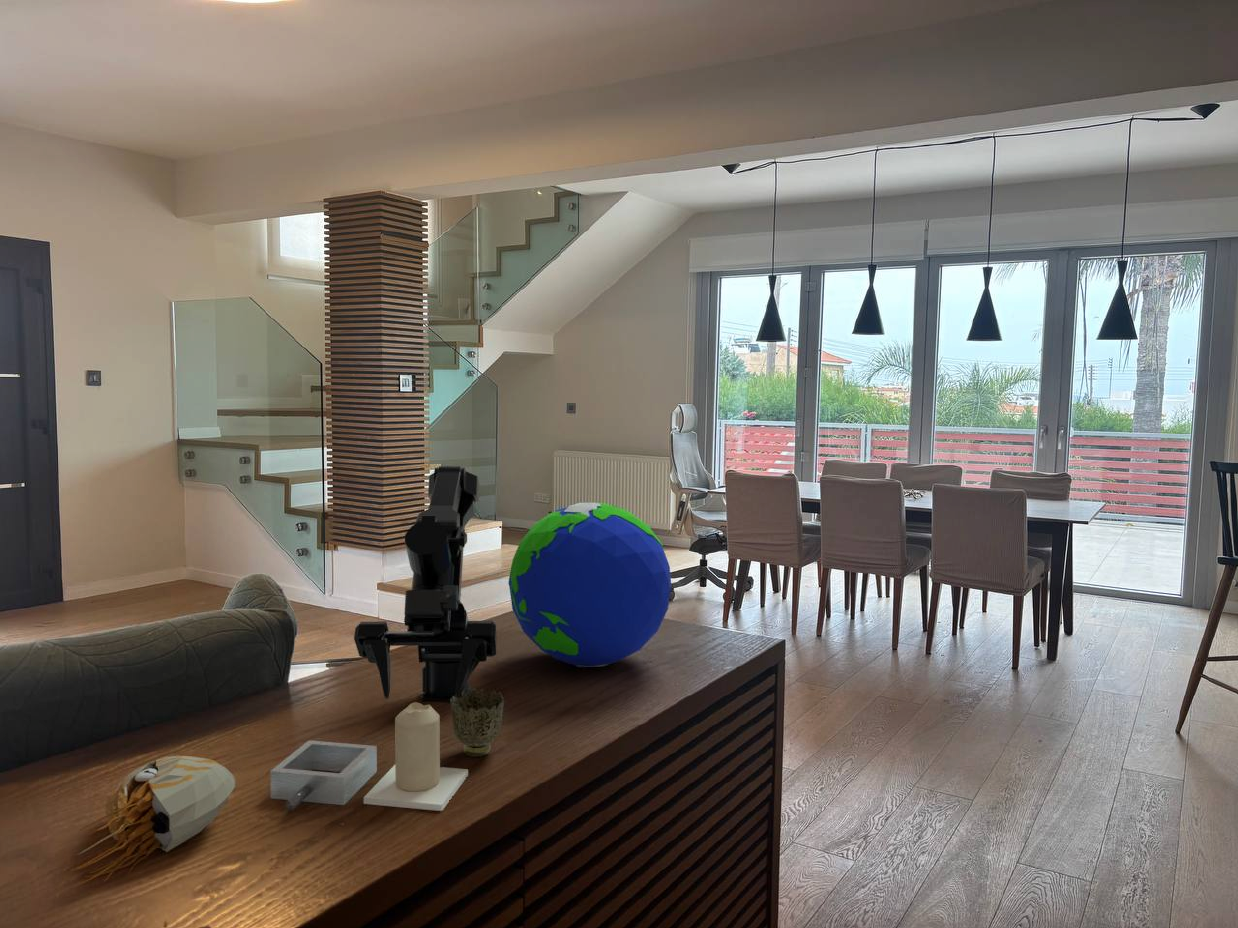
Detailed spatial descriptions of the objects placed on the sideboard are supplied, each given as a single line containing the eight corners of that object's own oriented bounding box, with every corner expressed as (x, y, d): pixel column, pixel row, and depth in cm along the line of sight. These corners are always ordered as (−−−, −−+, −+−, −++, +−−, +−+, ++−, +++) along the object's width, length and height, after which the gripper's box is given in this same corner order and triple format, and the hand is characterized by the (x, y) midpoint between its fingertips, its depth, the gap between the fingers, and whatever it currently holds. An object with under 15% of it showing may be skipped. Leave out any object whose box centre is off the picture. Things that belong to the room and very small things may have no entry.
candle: (391, 777, 115) (390, 702, 114) (433, 769, 118) (433, 696, 117) (400, 795, 110) (400, 717, 109) (444, 787, 113) (444, 710, 112)
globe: (704, 668, 164) (708, 505, 161) (574, 704, 144) (576, 520, 142) (601, 631, 186) (603, 488, 183) (477, 658, 167) (477, 499, 164)
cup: (513, 746, 127) (513, 692, 127) (489, 767, 121) (489, 710, 120) (466, 739, 130) (466, 685, 129) (440, 759, 123) (440, 702, 122)
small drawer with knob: (376, 771, 119) (376, 745, 119) (328, 820, 105) (327, 792, 105) (309, 765, 120) (308, 740, 120) (252, 813, 107) (252, 785, 107)
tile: (468, 775, 118) (468, 769, 118) (441, 810, 108) (441, 804, 108) (396, 768, 120) (396, 763, 120) (363, 803, 110) (363, 797, 110)
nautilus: (126, 912, 88) (10, 892, 92) (269, 802, 108) (169, 789, 113) (116, 837, 87) (-1, 820, 91) (263, 740, 107) (161, 730, 112)
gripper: (355, 563, 120) (338, 670, 110) (496, 563, 122) (491, 668, 112) (367, 605, 129) (352, 708, 119) (498, 604, 130) (494, 706, 121)
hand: (421, 697), depth 117 cm, fingers open, 9 cm apart
